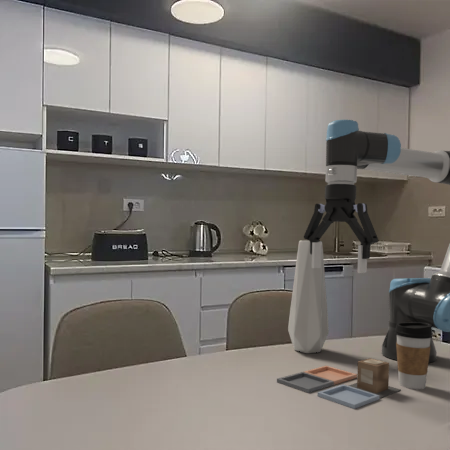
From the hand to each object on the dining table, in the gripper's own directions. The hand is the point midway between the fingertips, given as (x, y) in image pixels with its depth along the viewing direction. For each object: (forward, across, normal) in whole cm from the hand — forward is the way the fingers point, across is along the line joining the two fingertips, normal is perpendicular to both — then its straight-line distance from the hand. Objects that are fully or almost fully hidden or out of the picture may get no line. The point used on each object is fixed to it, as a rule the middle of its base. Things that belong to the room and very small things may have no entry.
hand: (338, 270), depth 125 cm
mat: (+27, +11, 0) cm, 29 cm away
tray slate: (+27, +11, -10) cm, 30 cm away
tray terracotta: (+27, -1, 0) cm, 27 cm away
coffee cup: (+27, +15, +10) cm, 32 cm away
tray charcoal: (+27, -1, -10) cm, 29 cm away
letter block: (+26, +11, -1) cm, 28 cm away
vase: (+27, -22, +16) cm, 38 cm away
